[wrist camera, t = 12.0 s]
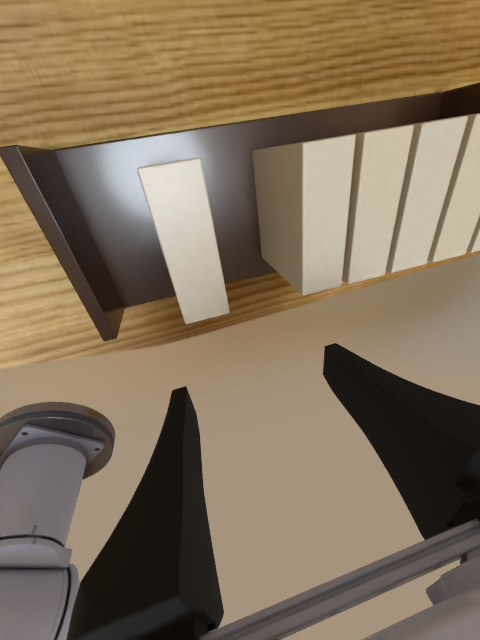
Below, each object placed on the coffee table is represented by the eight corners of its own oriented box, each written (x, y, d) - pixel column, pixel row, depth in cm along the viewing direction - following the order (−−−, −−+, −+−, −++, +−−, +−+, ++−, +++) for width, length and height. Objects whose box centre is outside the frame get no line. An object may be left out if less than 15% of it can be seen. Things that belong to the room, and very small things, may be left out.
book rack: (115, 306, 20) (104, 342, 16) (42, 152, 14) (-5, 147, 10) (409, 236, 23) (460, 251, 19) (443, 92, 18) (523, 72, 14)
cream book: (178, 275, 19) (185, 325, 13) (146, 166, 15) (136, 167, 9) (209, 268, 19) (230, 313, 13) (186, 159, 15) (201, 156, 9)
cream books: (261, 257, 20) (302, 296, 14) (251, 150, 16) (302, 142, 10) (412, 223, 22) (502, 244, 16) (436, 120, 18) (568, 98, 12)
